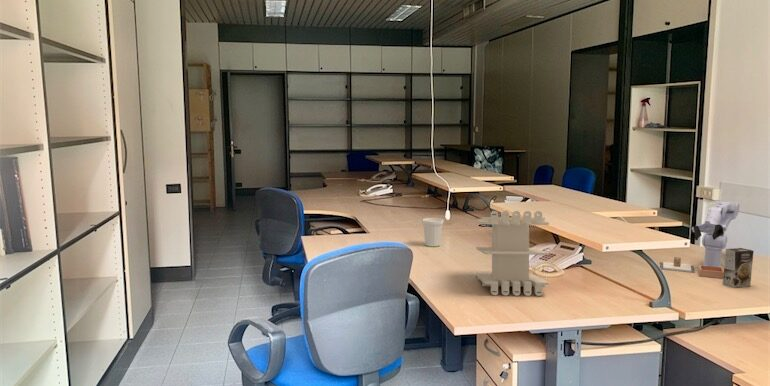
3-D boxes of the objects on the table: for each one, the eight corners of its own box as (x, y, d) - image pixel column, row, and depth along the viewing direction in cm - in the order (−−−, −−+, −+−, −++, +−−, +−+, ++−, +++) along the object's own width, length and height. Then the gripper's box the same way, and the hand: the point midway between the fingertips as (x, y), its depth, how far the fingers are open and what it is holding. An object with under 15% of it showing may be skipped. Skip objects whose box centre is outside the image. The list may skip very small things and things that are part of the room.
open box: (698, 272, 265) (698, 264, 264) (722, 274, 260) (723, 267, 260) (699, 277, 256) (699, 269, 255) (724, 279, 251) (725, 272, 251)
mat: (659, 263, 281) (659, 262, 281) (693, 266, 275) (693, 265, 275) (659, 270, 268) (659, 269, 268) (694, 273, 261) (695, 273, 261)
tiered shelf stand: (484, 295, 228) (484, 210, 229) (475, 285, 259) (475, 210, 260) (549, 296, 227) (549, 211, 228) (532, 286, 258) (532, 211, 259)
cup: (419, 247, 317) (420, 220, 315) (424, 242, 329) (424, 217, 327) (441, 248, 314) (441, 222, 312) (445, 243, 326) (445, 218, 324)
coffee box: (734, 288, 239) (737, 251, 237) (721, 284, 245) (724, 248, 243) (751, 286, 242) (754, 250, 240) (738, 282, 248) (741, 247, 246)
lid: (663, 263, 279) (663, 254, 279) (690, 266, 274) (690, 256, 273) (663, 268, 269) (663, 259, 268) (691, 271, 263) (691, 262, 263)
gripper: (693, 216, 271) (685, 231, 262) (726, 214, 260) (719, 230, 252) (697, 228, 273) (689, 244, 264) (730, 227, 262) (723, 243, 253)
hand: (704, 238), depth 258 cm, fingers open, 7 cm apart
